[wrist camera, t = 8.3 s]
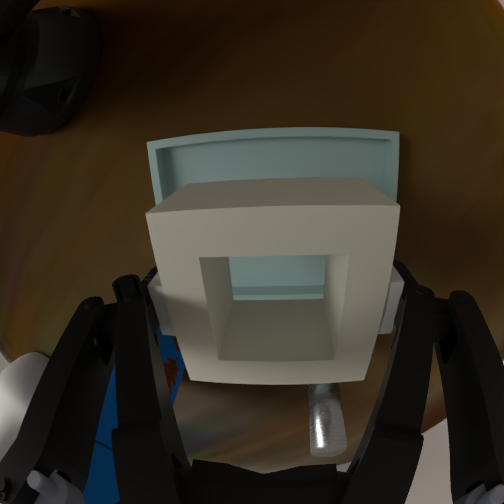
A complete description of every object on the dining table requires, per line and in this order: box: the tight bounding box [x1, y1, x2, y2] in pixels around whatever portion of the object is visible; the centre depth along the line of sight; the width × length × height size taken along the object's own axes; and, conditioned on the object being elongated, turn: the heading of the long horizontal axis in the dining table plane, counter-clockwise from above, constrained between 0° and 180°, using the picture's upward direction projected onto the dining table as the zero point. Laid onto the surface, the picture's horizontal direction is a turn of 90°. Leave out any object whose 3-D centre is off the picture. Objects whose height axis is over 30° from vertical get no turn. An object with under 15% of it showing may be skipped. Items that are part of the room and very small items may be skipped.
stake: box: [308, 382, 347, 457], centre depth 23 cm, size 9×9×15 cm
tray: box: [147, 127, 399, 300], centre depth 24 cm, size 15×20×2 cm
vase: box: [0, 352, 50, 462], centre depth 27 cm, size 17×17×35 cm
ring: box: [146, 177, 400, 385], centre depth 14 cm, size 11×9×5 cm
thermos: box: [83, 326, 185, 504], centre depth 23 cm, size 11×11×25 cm
